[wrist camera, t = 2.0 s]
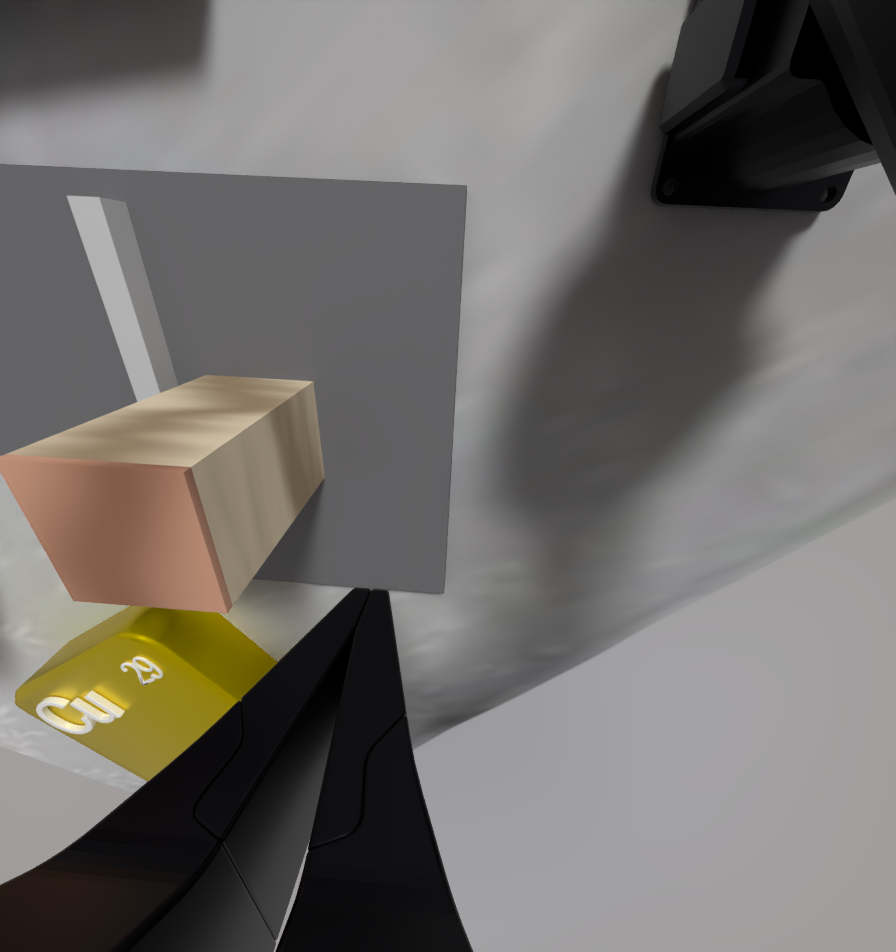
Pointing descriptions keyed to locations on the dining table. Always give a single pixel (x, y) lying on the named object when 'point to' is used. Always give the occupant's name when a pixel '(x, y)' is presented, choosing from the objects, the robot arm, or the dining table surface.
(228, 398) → the beech block
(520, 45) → the dining table surface
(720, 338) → the dining table surface
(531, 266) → the dining table surface
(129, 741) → the element tile
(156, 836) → the robot arm
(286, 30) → the dining table surface
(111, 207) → the mat
